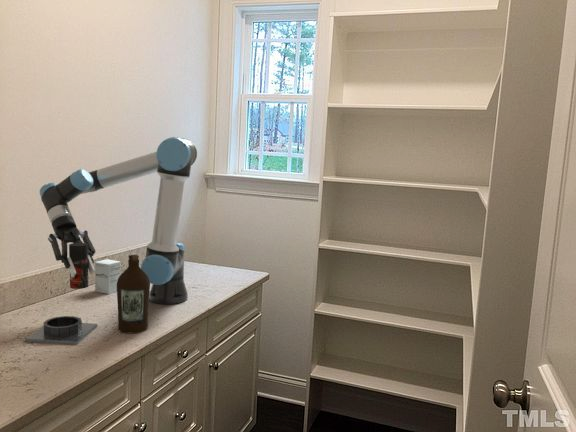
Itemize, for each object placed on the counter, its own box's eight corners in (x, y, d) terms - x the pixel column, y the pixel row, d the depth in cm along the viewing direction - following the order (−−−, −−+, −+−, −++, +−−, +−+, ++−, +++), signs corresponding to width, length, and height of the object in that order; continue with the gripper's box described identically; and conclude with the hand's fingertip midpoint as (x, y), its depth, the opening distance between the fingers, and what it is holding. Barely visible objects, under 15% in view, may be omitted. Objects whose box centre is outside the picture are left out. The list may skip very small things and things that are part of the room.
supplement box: (94, 291, 210) (94, 262, 208) (106, 287, 216) (107, 258, 215) (108, 294, 207) (108, 264, 205) (120, 290, 214) (121, 260, 212)
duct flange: (97, 326, 171) (97, 315, 170) (76, 344, 155) (76, 332, 154) (50, 323, 171) (50, 312, 171) (24, 341, 155) (24, 329, 155)
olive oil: (118, 323, 175) (118, 252, 171) (150, 322, 177) (151, 252, 174) (114, 334, 164) (115, 259, 161) (148, 333, 167) (149, 259, 164)
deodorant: (92, 285, 179) (91, 243, 177) (80, 289, 174) (79, 246, 172) (78, 283, 181) (77, 242, 179) (66, 287, 176) (65, 245, 174)
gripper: (84, 224, 192) (106, 275, 183) (32, 229, 179) (52, 284, 170) (90, 212, 188) (113, 263, 179) (37, 216, 174) (58, 271, 165)
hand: (83, 273), depth 174 cm, fingers closed on deodorant, 6 cm apart
